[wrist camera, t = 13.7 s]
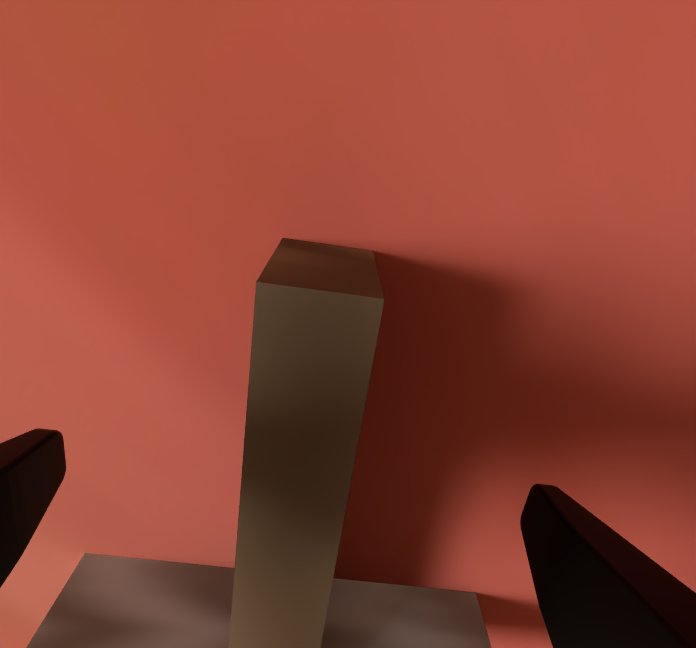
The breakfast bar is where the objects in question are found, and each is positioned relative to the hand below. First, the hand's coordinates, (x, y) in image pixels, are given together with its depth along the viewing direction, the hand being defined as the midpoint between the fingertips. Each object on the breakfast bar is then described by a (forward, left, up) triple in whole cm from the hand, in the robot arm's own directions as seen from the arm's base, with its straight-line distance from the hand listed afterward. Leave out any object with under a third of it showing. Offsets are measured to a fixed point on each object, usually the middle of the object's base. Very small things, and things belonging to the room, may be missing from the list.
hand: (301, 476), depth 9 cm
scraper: (0, -3, -5) cm, 6 cm away
